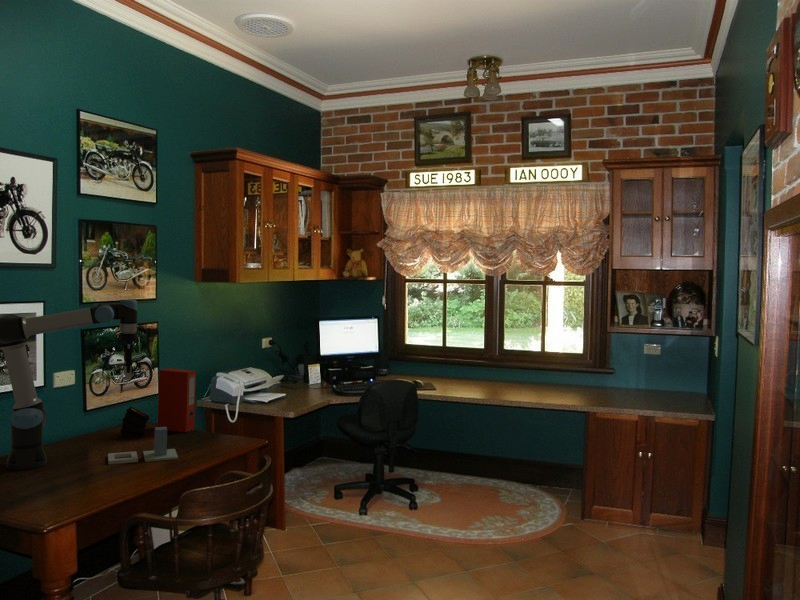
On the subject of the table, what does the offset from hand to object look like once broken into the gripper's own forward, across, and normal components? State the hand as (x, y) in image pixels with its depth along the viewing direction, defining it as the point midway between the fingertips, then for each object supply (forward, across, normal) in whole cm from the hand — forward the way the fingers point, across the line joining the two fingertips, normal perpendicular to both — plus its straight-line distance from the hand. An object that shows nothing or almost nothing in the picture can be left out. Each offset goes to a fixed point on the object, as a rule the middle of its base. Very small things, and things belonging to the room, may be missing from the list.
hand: (127, 377), depth 303 cm
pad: (+35, -16, -14) cm, 41 cm away
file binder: (+35, +32, -26) cm, 54 cm away
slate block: (+34, -16, -14) cm, 40 cm away
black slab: (+35, +23, -5) cm, 42 cm away
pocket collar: (+35, -16, +2) cm, 38 cm away
